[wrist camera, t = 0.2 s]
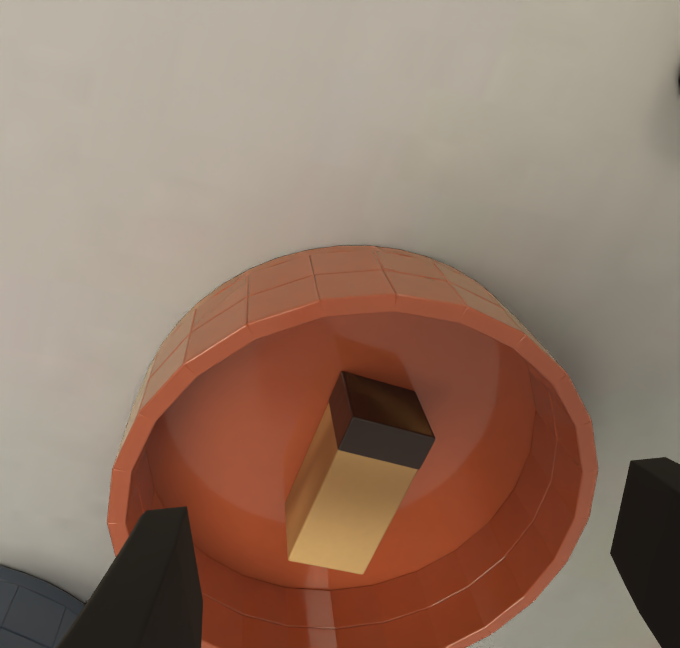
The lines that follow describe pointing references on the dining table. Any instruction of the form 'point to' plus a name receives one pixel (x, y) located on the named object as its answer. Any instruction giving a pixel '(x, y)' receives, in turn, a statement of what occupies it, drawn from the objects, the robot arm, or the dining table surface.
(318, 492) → the tan block dark cap
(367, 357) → the terracotta bowl
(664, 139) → the dining table surface
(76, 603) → the slate bowl
